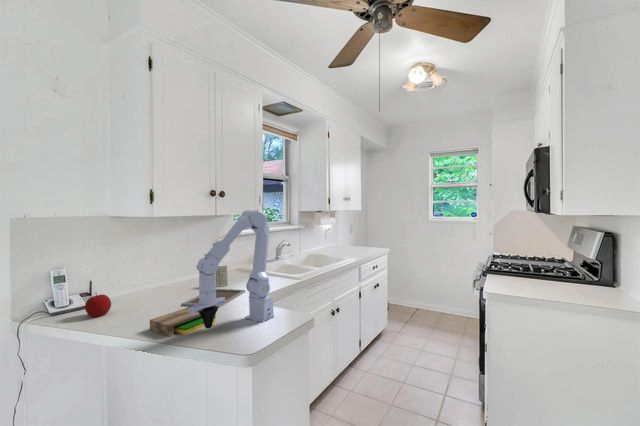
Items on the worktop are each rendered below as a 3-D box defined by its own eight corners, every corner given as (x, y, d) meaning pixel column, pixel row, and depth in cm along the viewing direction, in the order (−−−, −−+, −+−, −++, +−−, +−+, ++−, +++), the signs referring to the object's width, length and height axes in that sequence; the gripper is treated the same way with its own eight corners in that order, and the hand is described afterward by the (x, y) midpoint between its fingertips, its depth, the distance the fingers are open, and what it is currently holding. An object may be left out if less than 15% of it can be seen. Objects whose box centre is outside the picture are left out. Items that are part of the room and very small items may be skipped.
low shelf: (215, 318, 120) (215, 308, 120) (169, 336, 103) (169, 325, 103) (196, 313, 126) (196, 304, 126) (149, 330, 109) (149, 319, 109)
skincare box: (226, 284, 177) (226, 264, 177) (227, 285, 173) (227, 265, 173) (215, 285, 174) (215, 265, 174) (216, 287, 170) (216, 266, 170)
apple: (112, 315, 125) (112, 292, 125) (85, 320, 119) (85, 296, 119) (110, 310, 132) (109, 288, 132) (84, 315, 126) (84, 291, 126)
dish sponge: (172, 331, 108) (172, 325, 108) (203, 319, 120) (203, 313, 120) (184, 335, 104) (184, 329, 104) (215, 322, 116) (215, 316, 116)
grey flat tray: (181, 303, 137) (216, 287, 166) (181, 307, 137) (216, 290, 166) (218, 305, 133) (247, 288, 162) (218, 309, 133) (247, 291, 162)
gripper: (216, 284, 116) (216, 319, 116) (182, 294, 103) (183, 332, 103) (228, 286, 112) (229, 322, 112) (196, 296, 100) (196, 336, 100)
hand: (208, 327), depth 108 cm, fingers closed
